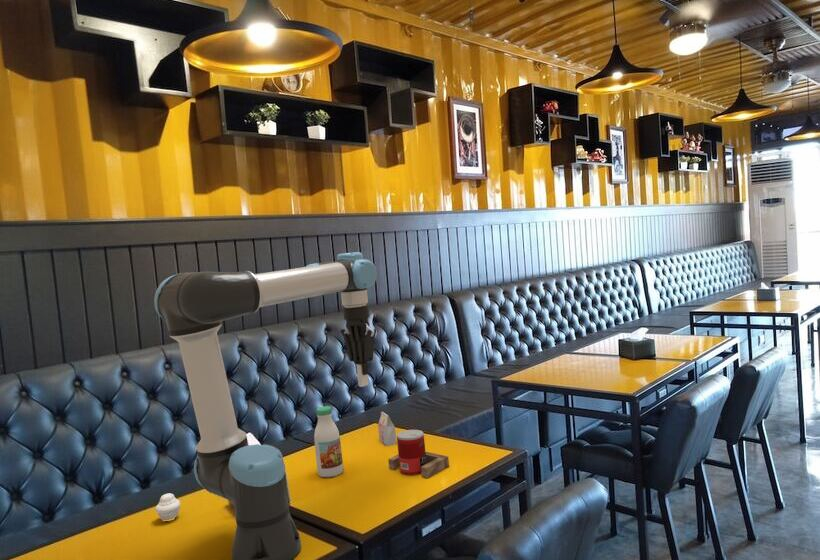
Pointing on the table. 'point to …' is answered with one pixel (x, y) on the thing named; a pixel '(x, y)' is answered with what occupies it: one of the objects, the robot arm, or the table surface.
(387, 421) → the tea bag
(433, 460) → the wooden u-shaped frame
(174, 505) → the muffin
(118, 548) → the table surface
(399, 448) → the canned food
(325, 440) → the milk bottle
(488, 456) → the table surface
